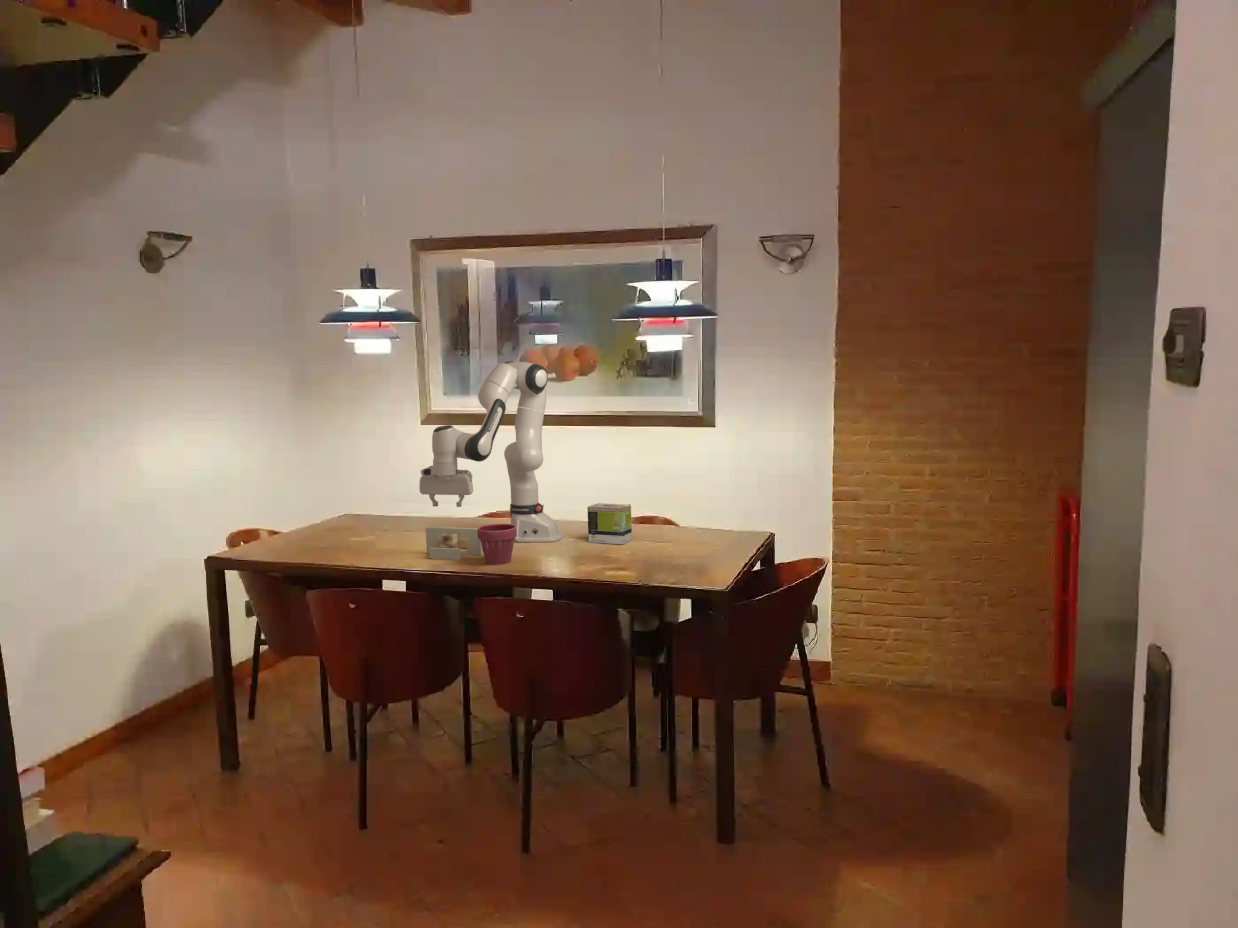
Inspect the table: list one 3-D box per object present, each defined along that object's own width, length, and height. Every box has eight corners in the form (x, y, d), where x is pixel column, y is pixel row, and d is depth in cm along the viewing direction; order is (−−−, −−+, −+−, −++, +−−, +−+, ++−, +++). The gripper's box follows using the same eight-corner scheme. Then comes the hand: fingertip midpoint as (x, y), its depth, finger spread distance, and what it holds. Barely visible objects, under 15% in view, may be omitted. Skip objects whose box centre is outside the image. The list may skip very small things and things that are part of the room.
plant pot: (480, 557, 346) (479, 523, 344) (518, 556, 347) (517, 522, 345) (477, 566, 331) (475, 531, 330) (516, 565, 332) (515, 530, 331)
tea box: (632, 540, 372) (631, 503, 370) (622, 545, 363) (621, 508, 361) (598, 537, 378) (597, 501, 376) (587, 542, 369) (586, 506, 367)
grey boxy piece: (483, 554, 351) (482, 528, 350) (472, 560, 341) (471, 533, 340) (429, 552, 356) (427, 526, 355) (417, 558, 346) (416, 531, 345)
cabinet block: (458, 549, 349) (457, 533, 348) (452, 552, 344) (451, 536, 343) (445, 548, 350) (445, 533, 350) (439, 551, 345) (439, 536, 344)
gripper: (475, 468, 345) (476, 505, 346) (423, 468, 349) (425, 504, 351) (468, 471, 339) (470, 508, 340) (416, 470, 343) (418, 507, 345)
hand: (447, 506), depth 346 cm, fingers open, 8 cm apart
